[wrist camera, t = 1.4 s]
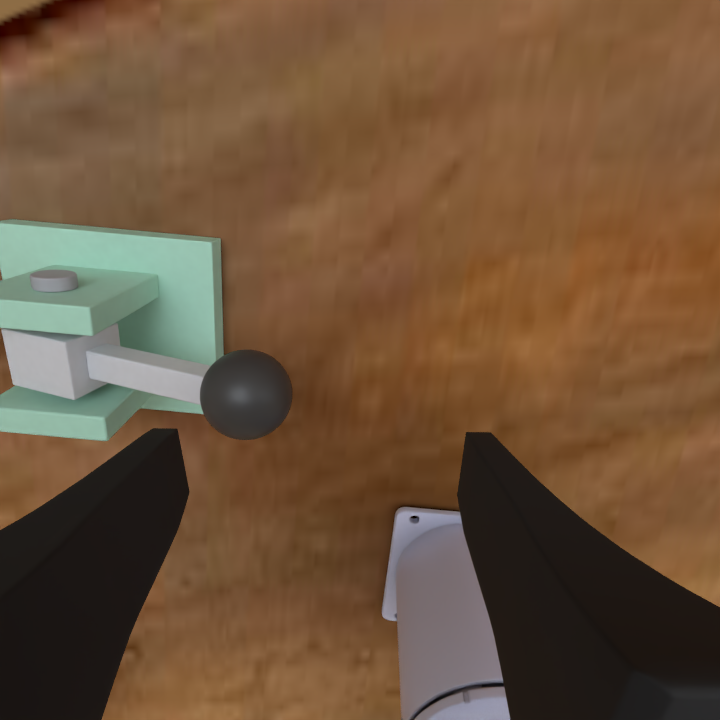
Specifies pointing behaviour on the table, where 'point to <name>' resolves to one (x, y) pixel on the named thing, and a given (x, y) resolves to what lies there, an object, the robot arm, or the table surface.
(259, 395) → the lever
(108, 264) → the bracket
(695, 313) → the table surface
